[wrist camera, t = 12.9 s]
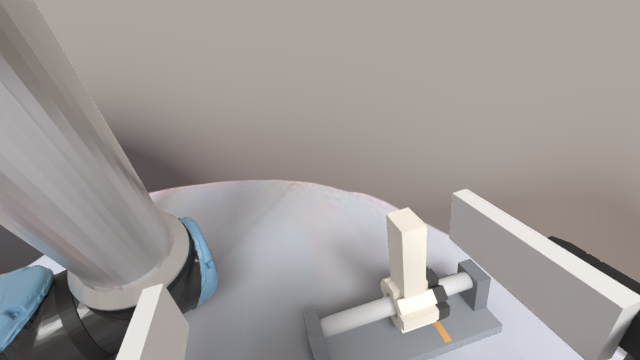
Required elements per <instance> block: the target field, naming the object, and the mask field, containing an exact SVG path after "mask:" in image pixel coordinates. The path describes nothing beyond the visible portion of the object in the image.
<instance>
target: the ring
mask: <svg viewBox="0 0 640 360" xmlns="http://www.w3.org/2000/svg"><path fill="white" fill-rule="evenodd" d="M426 280H427V281H428V289H432V290H433V293H434V295H435V298H436V300H437V304H435V305H436V307H437V308H438V310H439V320H442V319H445V318H447V316H450V306H449V304H448V303H447V302H446V300H449V299H448V296H447V294H446V291H445V289H444V286H443V285H439V278H438V276H437V275H436V274H435V273H434V272H433V270H432V269H428V267H427V266H426ZM439 320H436V321H439Z"/></svg>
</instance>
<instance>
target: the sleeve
mask: <svg viewBox="0 0 640 360" xmlns="http://www.w3.org/2000/svg"><path fill="white" fill-rule="evenodd" d="M386 220H387V234H388V248H389V262H390V277H387V278H384V279H381V280H382V282H381V291H382V292H383V294H384V296H383V298H384V297H387V296H391V298H392V300H393V302H394V305H395V308H396V310H397V314H394V315H391V316H390V317H391V319H392V321H393V323H394V325H395V326H397V328H398V330H399V331H400V332H401V333H405V332H408V331H411V330H414V329H417V328H420V327H422V326H425V325H428V324H431V323H434V322H437V321H436V320H439V310H438V308H437V307H436V305H435V304H437V300H436V298H435V295H434V293H433V290H432V289H428V281H427V280H426V237H427V226H426V225H425V224H424V223H423V222H422V221H421V220H420V219H419V218H418V217H417V216H416V215H415V214H414V213H413V212H412V211H411V210H410V209H409V208H405V209H402V210H398V211H395V212H391V213H388V214H386Z"/></svg>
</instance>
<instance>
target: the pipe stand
mask: <svg viewBox="0 0 640 360" xmlns="http://www.w3.org/2000/svg"><path fill="white" fill-rule="evenodd" d="M490 280H491V278H490V277H489V276H488V275H487V274H486V273H485V272H484V271H482V270H481V269H480V268H479V267H478V266H477V265H476V264H475V263H474V262H473V261H472V260H471V259H468V260H465V261H462V262H459V263H458V273H457V274H455V273H454V274H451V275H448V276H445V277H442V278H439V285H443V286H444V289H445V291H446V294H447V296H448V299H449V300H446V302H447V303H448V304H449V306H450V316H447V318H445V319H442V320H439V321H437V322H434V323H431V324H428V325H425V326H422V327H420V328H417V329H414V330H411V331H408V332H405V333H401V332H400V331H399V330H398V328H397V326H395V325H394V323H393V321H392V319H391V317H390V316H391V315H394V314H397V310H396V308H395V305H394V302H393V300H392V298H391V296H387V297H384V298H383V297H381V298H378V299H375V300H372V301H369V302H366V303H363V304H360V305H357V306H354V307H351V308H348V309H345V310H342V311H339V312H336V313H333V314H330V315H327V316H324V317H321V318H319V316H318V312H317V309H315V310H312V311H309V312H306V313H303V317H304V322H305V327H306V331H307V336H308V341H309V344H310V347H311V351H312V354H313V357H314V360H427V359H429V358H432V357H435V356H437V355H440V354H443V353H445V352H448V351H451V350H454V349H456V348H459V347H462V346H464V345H467V344H470V343H472V342H475V341H478V340H481V339H483V338H486V337H489V336H491V335H494V334H497V333H499V332H501V330H502V324H501V323H500V322H499V321H498V320H497V319H496V318H495V316H494V315H493V314H492V313H491V312H490V311H489V310H488V309H487V308H486V305H487V299H488V292H489V286H490Z"/></svg>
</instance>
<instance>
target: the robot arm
mask: <svg viewBox="0 0 640 360" xmlns="http://www.w3.org/2000/svg"><path fill="white" fill-rule="evenodd" d="M0 224H1V225H2V226H4V227H5V228H7V229H8V230H9V231H11V232H12V233H14V234H15V235H17V236H18V237H20V238H21V239H23V240H24V241H26V242H27V243H29V244H30V245H32V246H33V247H35V248H36V249H37V250H39V251H40V252H42V253H44V254H45V255H46V256H48V257H49V258H51V259H52V260H54V261H55V262H57V263H58V264H60V265H61V266H63V267H64V268H66V269H67V270H65V271H62V272H60V273H58V274H55V275H54V274H53V272H52V270H51V269H47V268H45V267H43V266H40V265H35V266H32V267H24V268H21V269H18V270H15V271H13V272H10V273H8V274H6V275H4V276H2V277H0V360H184V358H185V352H186V346H187V340H188V335H189V329H190V326H189V324H188V322H187V321H186V319H185V318H184V316H183V314H185V313H186V312H188V311H190V310H194V309H196V308H198V306H200V305H201V303H202V302H204V301H205V300H207V299H208V298H210V297H211V296H213V295H214V294H215V292H216V291H217V288H218V276H217V271H216V268H215V265H214V263H213V261H212V256H211V253H210V250H209V248H208V245H207V243H206V241H205V239H204V237H203V235H202V233H201V231H200V229H199V227H198V226H197V224H196V223H195V221H194V220H193V219H191V218H188V217H185V218H182V219H180V218H178V219H177V218H176V217H175V216H173V215H171V214H169V213H167V212H163V211H160V210H158V209H157V207H156V206H155V204H154V202H153V201H152V199H151V197H150V196H149V194H148V192H147V191H146V189H145V187H144V186H143V184H142V182H141V181H140V179H139V177H138V175H137V174H136V172H135V171H134V169H133V167H132V165H131V164H130V162H129V160H128V159H127V157H126V156H125V154H124V152H123V150H122V148H121V147H120V145H119V143H118V142H117V140H116V138H115V137H114V135H113V133H112V132H111V130H110V128H109V127H108V125H107V123H106V121H105V120H104V118H103V117H102V115H101V113H100V112H99V110H98V108H97V107H96V105H95V103H94V102H93V100H92V98H91V96H90V94H89V93H88V91H87V89H86V88H85V86H84V85H83V83H82V81H81V79H80V78H79V76H78V74H77V73H76V71H75V69H74V67H73V66H72V64H71V63H70V61H69V59H68V57H67V56H66V54H65V52H64V51H63V49H62V47H61V46H60V44H59V42H58V41H57V39H56V37H55V36H54V34H53V32H52V30H51V29H50V27H49V25H48V24H47V22H46V20H45V19H44V17H43V15H42V14H41V12H40V10H39V9H38V7H37V5H36V3H35V2H34V0H0ZM449 238H450V239H451V240H452V241H453V242H454V243H455V244H456V245H457V246H459V247H460V248H461V249H462V250H463V251H464V252H465V253H466V254H468V255H469V256H470V257H471V258H472V259H473V260H474V261H475V262H476V263H478V264H479V265H480V266H481V267H482V268H483V269H484V270H485V271H486V272H488V273H489V274H490V275H491V276H492V277H493V278H494V279H495V280H496V281H498V282H499V283H500V284H501V285H502V286H503V287H504V288H505V289H507V290H508V291H509V292H510V293H511V294H512V295H513V296H514V297H515V298H517V299H518V300H519V301H520V302H521V303H522V304H523V305H524V306H525V307H527V308H528V309H529V310H530V311H531V312H532V313H533V314H534V315H535V316H537V317H538V318H539V319H540V320H541V321H542V322H543V323H544V324H546V325H547V326H548V327H549V328H550V329H551V330H552V331H553V332H554V333H556V334H557V335H558V336H559V337H560V338H561V339H562V340H563V341H564V342H566V343H567V344H568V345H569V346H570V347H571V348H572V349H573V350H574V351H576V352H577V353H578V354H579V355H580V356H581V357H582V358H583V359H585V360H607V359H610V358H612V356H613V354H614V353H615V351H616V349H617V347H618V346H620V347H621V348H622V349H624V350H625V351H626V352H627V355H626V357H625V358H624V360H640V283H638V282H636V281H635V280H633V279H631V278H629V277H628V276H626V275H624V274H623V273H621V272H619V271H617V270H616V269H614V268H612V267H611V266H609V265H607V264H606V263H604V262H600V260H599V259H597V258H595V257H594V256H592V255H590V254H587V253H586V252H585V251H583V250H582V249H580V248H578V247H577V246H575V245H573V244H571V243H569V242H567V241H564V240H561V239H558V238H556V237H553V236H551V237H548V238H546V237H544V236H542V235H541V234H539V233H538V232H536V231H534V230H532V229H531V228H529V227H528V226H526V225H525V224H523V223H521V222H519V221H518V220H516V219H515V218H513V217H512V216H510V215H508V214H507V213H505V212H503V211H502V210H500V209H499V208H497V207H495V206H494V205H492V204H490V203H489V202H487V201H486V200H484V199H482V198H481V197H479V196H477V195H476V194H474V193H473V192H471V191H469V190H467V189H464V190H461V191H458V192H455V193H452V208H451V222H450V235H449Z"/></svg>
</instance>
